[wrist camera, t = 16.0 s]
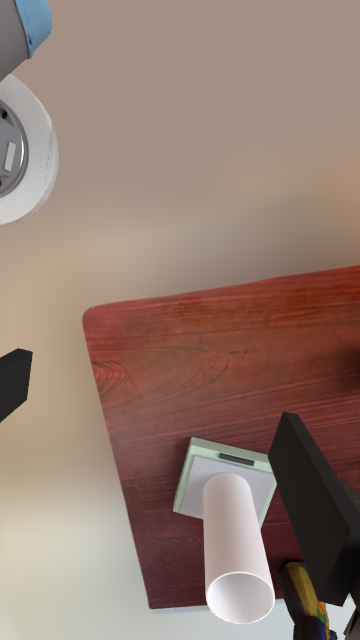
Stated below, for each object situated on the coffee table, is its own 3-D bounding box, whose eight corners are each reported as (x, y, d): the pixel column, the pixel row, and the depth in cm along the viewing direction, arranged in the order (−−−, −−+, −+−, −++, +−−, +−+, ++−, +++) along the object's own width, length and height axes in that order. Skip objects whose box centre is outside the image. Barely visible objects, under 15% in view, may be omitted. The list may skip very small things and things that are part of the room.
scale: (173, 500, 55) (172, 514, 52) (191, 436, 52) (191, 447, 49) (256, 520, 55) (260, 535, 52) (279, 457, 52) (284, 469, 49)
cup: (201, 472, 50) (203, 571, 34) (250, 471, 49) (275, 571, 34) (204, 512, 52) (207, 624, 36) (251, 512, 51) (275, 625, 36)
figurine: (320, 581, 57) (363, 693, 43) (287, 592, 58) (317, 705, 44) (300, 544, 56) (337, 647, 41) (266, 556, 57) (291, 661, 42)
